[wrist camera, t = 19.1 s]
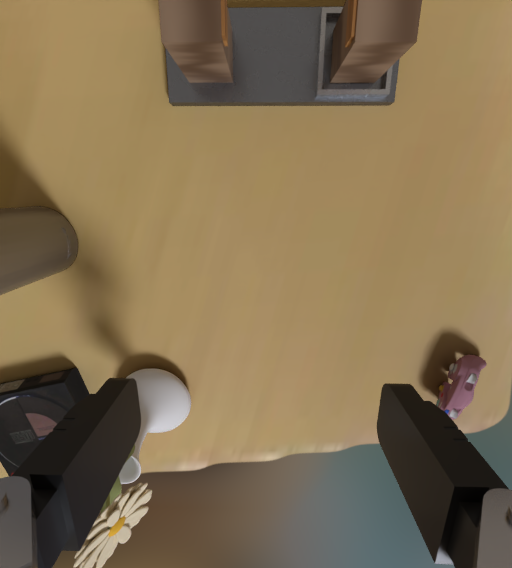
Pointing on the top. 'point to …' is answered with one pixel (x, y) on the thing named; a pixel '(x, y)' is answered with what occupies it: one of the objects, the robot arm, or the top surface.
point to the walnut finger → (372, 38)
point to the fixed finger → (198, 38)
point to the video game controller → (460, 385)
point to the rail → (281, 64)
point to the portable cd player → (34, 412)
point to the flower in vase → (135, 465)
